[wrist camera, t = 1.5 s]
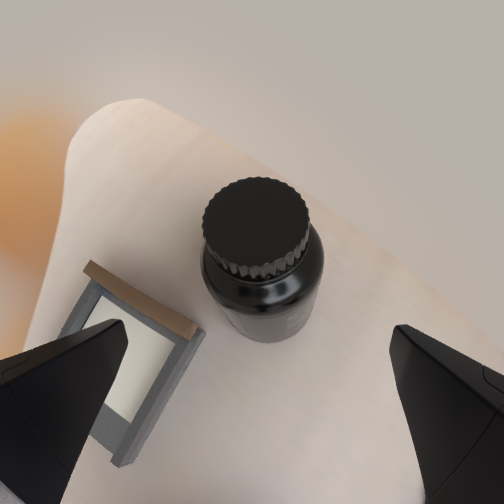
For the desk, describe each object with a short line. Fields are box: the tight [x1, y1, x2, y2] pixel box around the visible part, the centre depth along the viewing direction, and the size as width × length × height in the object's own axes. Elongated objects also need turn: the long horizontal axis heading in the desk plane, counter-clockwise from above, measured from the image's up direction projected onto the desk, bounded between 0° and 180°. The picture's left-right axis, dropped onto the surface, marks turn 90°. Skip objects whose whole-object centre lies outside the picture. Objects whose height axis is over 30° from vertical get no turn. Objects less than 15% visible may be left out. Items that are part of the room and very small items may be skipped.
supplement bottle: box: [200, 177, 324, 343], centre depth 18 cm, size 7×7×12 cm
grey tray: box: [57, 260, 206, 468], centre depth 20 cm, size 13×11×4 cm
